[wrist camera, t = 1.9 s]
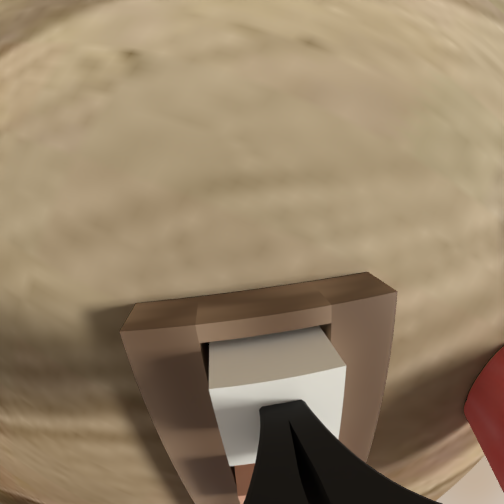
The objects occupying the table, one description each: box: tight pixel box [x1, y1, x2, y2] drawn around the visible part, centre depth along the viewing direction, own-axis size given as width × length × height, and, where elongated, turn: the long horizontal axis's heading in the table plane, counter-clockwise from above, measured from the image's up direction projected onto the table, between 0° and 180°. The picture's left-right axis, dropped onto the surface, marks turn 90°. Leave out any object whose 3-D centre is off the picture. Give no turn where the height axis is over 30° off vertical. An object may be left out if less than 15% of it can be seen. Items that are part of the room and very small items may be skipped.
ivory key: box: [209, 325, 346, 466], centre depth 10 cm, size 4×4×3 cm
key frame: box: [120, 272, 397, 504], centre depth 13 cm, size 10×18×2 cm, turn 6°
